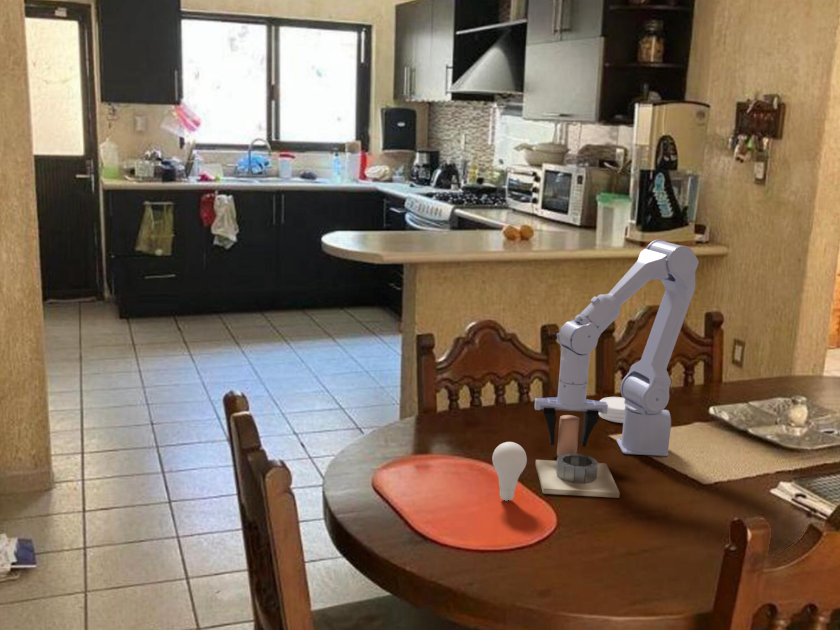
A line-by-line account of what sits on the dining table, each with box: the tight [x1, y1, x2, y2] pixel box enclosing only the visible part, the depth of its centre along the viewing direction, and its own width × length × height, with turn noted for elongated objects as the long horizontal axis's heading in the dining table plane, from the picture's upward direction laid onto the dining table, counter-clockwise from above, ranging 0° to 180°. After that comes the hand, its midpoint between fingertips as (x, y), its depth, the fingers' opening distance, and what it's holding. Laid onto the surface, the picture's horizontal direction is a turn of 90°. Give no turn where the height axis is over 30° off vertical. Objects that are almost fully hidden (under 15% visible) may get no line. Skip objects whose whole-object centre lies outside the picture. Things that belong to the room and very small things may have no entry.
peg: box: [556, 414, 581, 457], centre depth 183 cm, size 4×4×8 cm
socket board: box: [534, 453, 621, 499], centre depth 171 cm, size 14×14×4 cm
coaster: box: [599, 396, 625, 424], centre depth 209 cm, size 10×10×4 cm
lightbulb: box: [491, 441, 528, 502], centre depth 159 cm, size 6×6×11 cm
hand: (567, 444), depth 183 cm, fingers open, 6 cm apart
